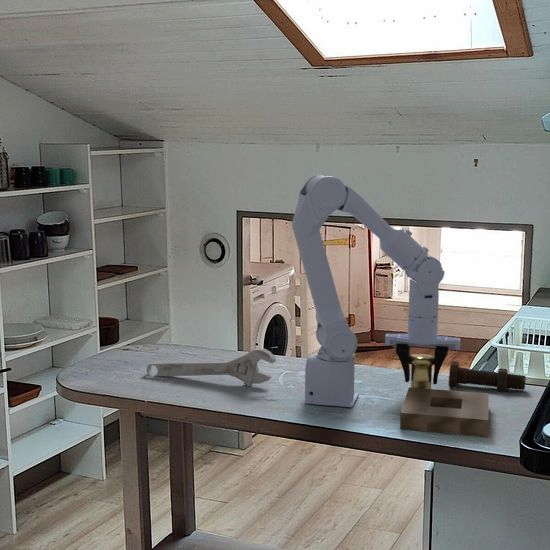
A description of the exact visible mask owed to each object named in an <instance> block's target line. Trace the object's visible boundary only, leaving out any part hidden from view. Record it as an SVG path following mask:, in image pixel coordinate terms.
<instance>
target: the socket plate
mask: <svg viewBox="0 0 550 550" xmlns="http://www.w3.org/2000/svg"><path fill="white" fill-rule="evenodd" d="M489 397H490V396H489V393H488V392H487V393H486V392H475V391H473V392H472V391H462V390H461V391H459V390H447V389H437V388H436V389H435V388H431V389H424V388H411V386H410V387H408V389H407V392H406V395H405V398H404V401H403V405H402V408H401V411H400V414H399V424H400V425H399V429H400V430H408V431H409V430H410V431H421V432H429V433H431V432H432V433H444V434H451V435H453V434H454V435H464V436H465V435H467V436H477V437H488V436H489V435H488V434H489V432H488V431H489V399H490V398H489Z"/></svg>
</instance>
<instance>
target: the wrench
mask: <svg viewBox="0 0 550 550" xmlns="http://www.w3.org/2000/svg"><path fill="white" fill-rule="evenodd" d="M274 355H275V354H273V353H272V352H271V351H270V350H268V349H266V348H261V347H257V348H254V349H253V350H251V351H249V352H248V353H245V354H244V355H242V356H238V357H236V358H233V359H231V360H204V361H203V360H201V361H200V360H197V361H194V360H193V361H192V360H191V361H189V360H188V361H154V362H151V363H150V364H148V365H147V367H146V373H147V375H148V376H149V375H154V373H155V372H154V371H153V369H152V366H153V367H156V370H157V372H156V373H155V374H156V375H154V376H153V377H157V376H165V377H193V376H194V377H195V376H196V377H197V376H230V377H233V378H235V379H238V380H240V381H241V382H243V385H244V384H245V385H247V386H246V387H248V386H250V385H251V386H253V385H257V384H262V383H265V382H269V381H270V380H271V379H272V375H271V374H269V373H267V372H264V371H260V370H259V367H258V363H259V362H260V361H261V360H262V361H265V362H268V363H269V364H274V363H275V362H276V357H275V356H274ZM245 385H244V386H245ZM251 386H250V387H251Z"/></svg>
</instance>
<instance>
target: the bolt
mask: <svg viewBox="0 0 550 550" xmlns="http://www.w3.org/2000/svg"><path fill="white" fill-rule="evenodd" d="M449 366H450V367H449V372H448V373H449V374H448V387H449V388H453V389H455V388H457V387H458V384H459V385H475V386H484V387H493V388H496V391H497V392H502V393H503V392H507V389H508V390H517V391H523V390H525V389H526V375H524V374H523V375H522V374H516V373H509V370H508V369H507V368H502V367H501V368H498V369H497V370H498V371H497V372H496V371H491V370H481V369H480V370H479V369H475V368H474V369H472V368H467V367H462V366H461V367H460V361H458V360H453V361H451V362H450V365H449Z"/></svg>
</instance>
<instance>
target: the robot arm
mask: <svg viewBox="0 0 550 550" xmlns="http://www.w3.org/2000/svg"><path fill="white" fill-rule="evenodd" d="M337 210H338V211H341V212H344V213H347V214H350V215H351V216H352V217H354V218H355V219H356V220H357V221H359V223H361V224H362V225H363V226H364V227H365V228H366V229H368V230H369V231H370V232H371V233H372V234H374V235H375V237H377V238H378V239H379V244H380V245H379V247H380V250H381V251H382V252H384V254H385V255H386V256H388V257H389V259H391V260H392V261H393V262H394V263H395V264H396V265H397V266H398V267H399V268H401V269H402V270H403V271H404V273H405V274H406V276H407V278H410V279H409V291H408V317H407V318H408V319H407V320H408V321H407V323H408V324H407V333H386V334H385V336H384V337H385V338H384V346H395V353H396V355H397V357H398V359H399V361H400V364H401V367H402V371H403V375H404V381H405V383H410V381H411V370H410V367H411V366H410V365H411V364H410V363H409V356H410V355H411V347H421V348H423V347H424V348H426V347H427V348H435V349H434V365H433V367H434V368H433V369H434V370H433V376H432V377H433V378H432V384H433V385H438V377H439V374H440V371H441V368H442V366H443V364H444V362H445V360H446V358H447V355H448V353H449V349H451V350H456V351H457V350H458V351H460V349H461V338H460V337H452V336H451V337H450V336H445V335H438V327H439V326H438V323H439V301H440V300H439V295H440V291H439V286H440V283H441V282H442V280H443V279H444V277H445V271H444V270H443V267H442V266H443V265H442V262H440V260H439V259H437V258H436V257H433V256H431V255H429V254H428V253H429V251H430V250H429V249H428V248H427V247H426V246H422V245H421V244H420V243H419V242H418V241H416V239H414V238H413V236H412V235H413V232H411V231H410V229H407V228H405V229H403V228H402V227H401V226H399V227H393V226H390V224H389V223H388V222H387V221H386V220H385V219H384V218H383V217H382V216H381V215H380V214H379V213H378V212H377V211H376V210H375V209H374V208H373V207H372V206H371V205H370V204H369V203H368V202H367V201H366V200H365V199H364V198H363V197H362V196H361V195H360V194H359V193H358V192H356V191H355V190H354V189H353V188H351V187H349V185H346V184H344V182H343V181H342V180H341V179H339V178H338V177H335V176H333V175H332V176H331V175H326V174H315V175H313V176H311V177H309V178H308V179H307V181H306V182H305V183H304V185H303V186H302V188H301V189H300V190H299V194H298V201H297V204H296V208H295V211H294V215H293V217H292V220H291V221H292V222H291V227H292V231H293V234H294V238H295V239H294V240H295V241H296V245H297V249H298V253H299V256H300V260H301V263H302V266H303V270H304V273H305V276H306V281H307V284H308V288H309V291H310V294H311V298H312V302H313V305H314V308H315V319H316V325H317V326H316V331H315V337H316V340H317V342H318V343H319V345H320V347H319V349H318V351H317V354H309V355H308V356H307V357H306V362H305V367H304V369H305V370H304V379H305V380H304V401H303V402H304V404H308V405H319V406H332V407H343V408H353V406H354V405H355V403H356V401H357V399H358V398H359V392H355V353H356V352H357V348H358V338H357V336H356V334H355V332H353V331H352V330H351V328H350V326H349V323H348V322H347V318H346V316H345V314H344V312H343V309H342V307H341V303H340V299H339V296H338V295H339V294H338V292H337V288H336V285H335V281H334V277H333V275H332V274H333V273H332V271H331V270H332V269H331V267H330V263H329V259H328V256H327V252H326V249H325V244H324V242H323V237H322V234H321V228H322V227H323V225H324V224H325V223H326V221H327V220H328V219H329V216H331V215H332V214H333V213H335V212H336V211H337Z"/></svg>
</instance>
